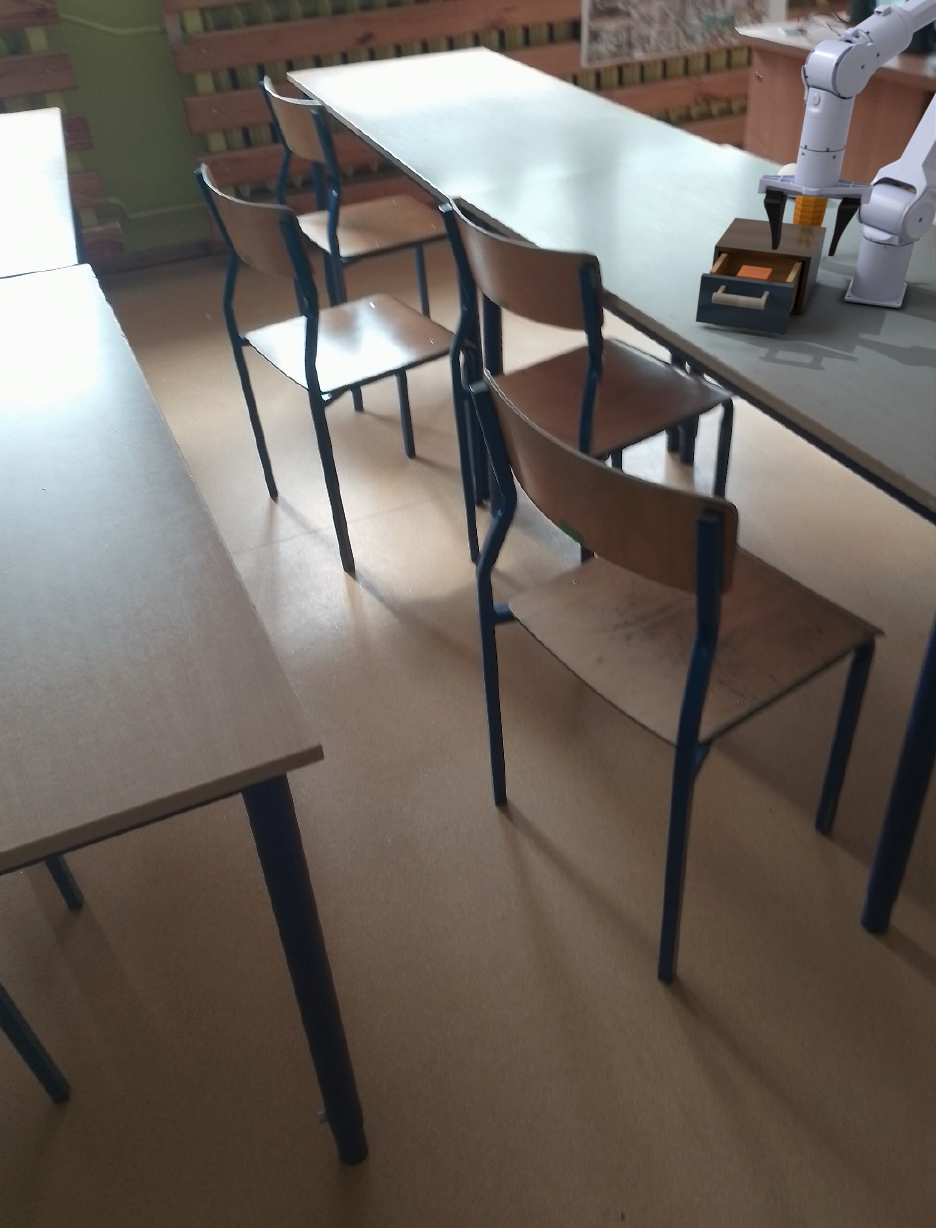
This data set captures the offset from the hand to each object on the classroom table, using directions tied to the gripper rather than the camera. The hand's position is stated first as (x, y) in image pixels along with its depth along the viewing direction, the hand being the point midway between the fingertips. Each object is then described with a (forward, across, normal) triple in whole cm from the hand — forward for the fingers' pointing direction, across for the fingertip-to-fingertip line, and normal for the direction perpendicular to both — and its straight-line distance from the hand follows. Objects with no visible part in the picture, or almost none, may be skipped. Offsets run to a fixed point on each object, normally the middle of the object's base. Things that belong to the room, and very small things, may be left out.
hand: (803, 250), depth 137 cm
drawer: (+9, -6, -4) cm, 12 cm away
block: (+8, -6, -2) cm, 10 cm away
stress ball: (+10, -10, +58) cm, 59 cm away
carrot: (+10, -3, +25) cm, 27 cm away
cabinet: (+10, -6, +9) cm, 14 cm away
